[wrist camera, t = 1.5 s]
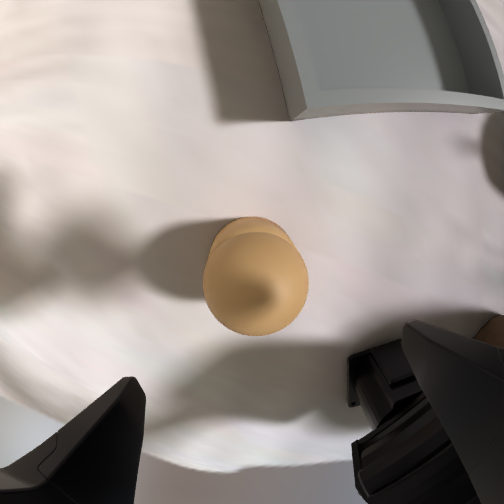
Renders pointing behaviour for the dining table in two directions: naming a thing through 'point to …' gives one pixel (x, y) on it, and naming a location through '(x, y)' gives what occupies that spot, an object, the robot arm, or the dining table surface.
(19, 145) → the dining table surface
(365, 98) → the bin
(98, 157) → the dining table surface
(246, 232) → the tan oval piece
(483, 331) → the plant pot
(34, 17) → the dining table surface
